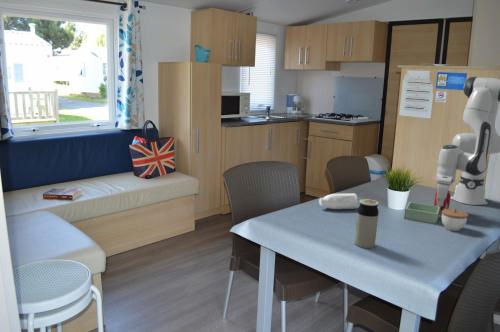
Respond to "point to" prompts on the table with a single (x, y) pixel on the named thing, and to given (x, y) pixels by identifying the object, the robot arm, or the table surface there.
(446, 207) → the soda can
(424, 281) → the table surface
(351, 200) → the white bottle
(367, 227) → the travel mug
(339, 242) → the table surface
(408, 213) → the serving tub
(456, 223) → the lidded jar
